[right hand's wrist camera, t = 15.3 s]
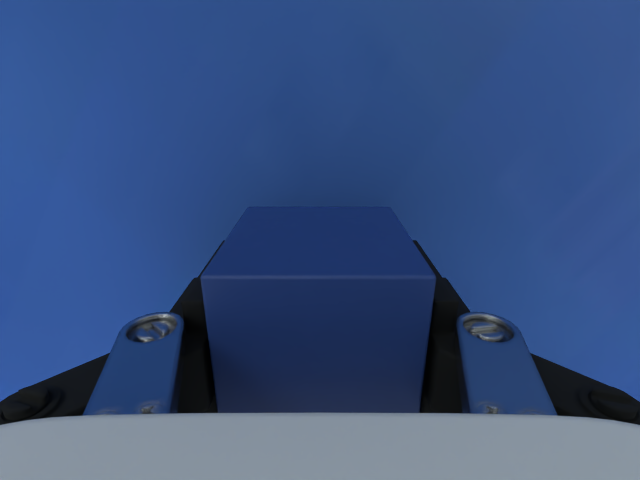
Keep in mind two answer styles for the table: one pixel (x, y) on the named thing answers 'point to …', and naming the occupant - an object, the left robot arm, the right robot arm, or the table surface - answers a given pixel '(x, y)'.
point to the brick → (318, 312)
